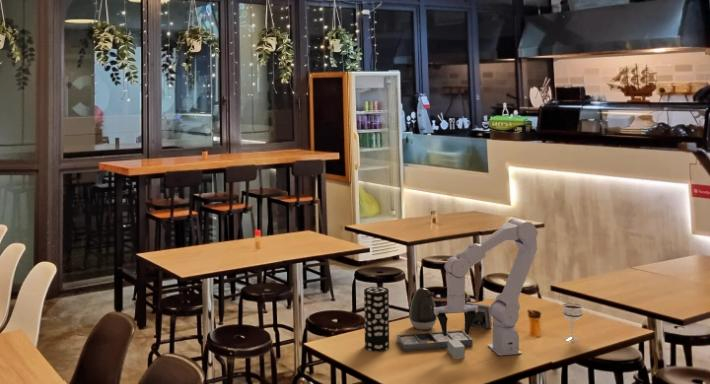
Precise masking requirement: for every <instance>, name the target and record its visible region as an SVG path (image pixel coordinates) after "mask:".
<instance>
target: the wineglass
mask: <svg viewBox="0 0 710 384" xmlns="http://www.w3.org/2000/svg"><path fill="white" fill-rule="evenodd" d="M562 307H563V308H562V314H563V315H562V316H564V318H565V319H567V320H568V321H569V322H570V330H571V332H570V336H566V337H564V340H565V341H567V342H572V343H578V342H580V339H579V338H577V337H575V336H573V333H574V323H575V321H579V320H580V319H581V318H582V316H583V315H584V311H583V307H584V306H583V305H582V304H579V303H575V302H574V303H573V302H567V303H563V304H562Z"/></svg>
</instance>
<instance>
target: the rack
mask: <svg viewBox="0 0 710 384" xmlns="http://www.w3.org/2000/svg"><path fill="white" fill-rule="evenodd" d="M454 339H458V340H459V341H460V342H461V343H462V344H463V345H464V346H465V348H466V347H467V348H468V347H473V341H474V340H473V338H471V337H470V335H467V334H466V333H465V330H463V329H461V330H447V336H444V335H443V333H442V331H432V332H425V331H424V332H417V333H408V334H407V333H405V334H397V335H396V342H397V344H398V345H399V346H400V347H401V350H402V351H403V352H404V353H405V352H415V351H416V352H417V351H427V350H429V351H430V350H441V349H442V350H443V349H447V340H454Z"/></svg>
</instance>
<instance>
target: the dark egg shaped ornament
mask: <svg viewBox="0 0 710 384" xmlns="http://www.w3.org/2000/svg"><path fill="white" fill-rule="evenodd" d="M434 295H435V293H434V292H431V291H430V290H429V289H428V288H426V287H420V288H418V289H417V290H416V291H415V293H414V294H413V297H412V299H411V304H410V309H409V317H408V319H409V320H410V324H411V325H412V327H414V328H415V329H417V330H421V331H426V330H430V329H431V328H433V327H434V326H435V324H436V322H437V319H438V317H437V315H435V314H434V308H435V307H436V303H435V301H434V297H433V296H434Z"/></svg>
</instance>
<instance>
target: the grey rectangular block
mask: <svg viewBox="0 0 710 384" xmlns="http://www.w3.org/2000/svg"><path fill="white" fill-rule="evenodd" d="M446 349H447V350H446V351H447V353H449V355H450V354H451V355H452V356H453V357H452V356H451V355H450V356H451V357H452V358H453V359H455V360H456V359H457V360H458V358H459V359H465V358H466V353H465V352H466V347H465V346H464V345H463V344H462V343H461V342H460V341H459V340H458V339H454V340H447V348H446Z"/></svg>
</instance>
